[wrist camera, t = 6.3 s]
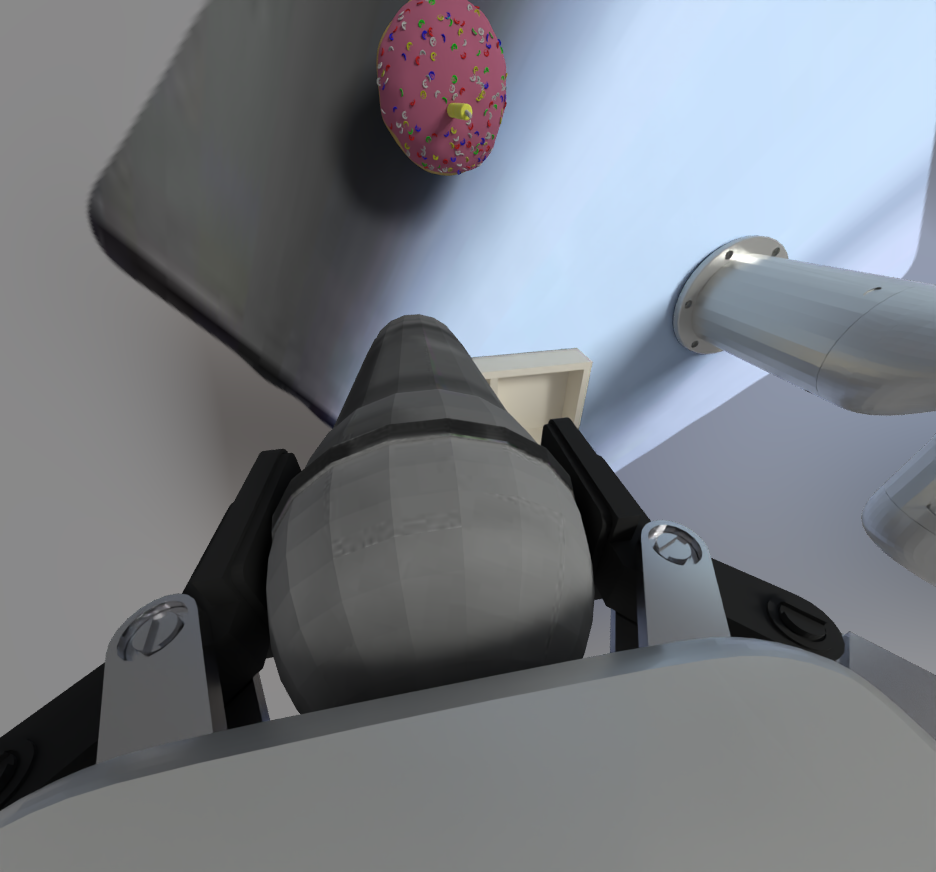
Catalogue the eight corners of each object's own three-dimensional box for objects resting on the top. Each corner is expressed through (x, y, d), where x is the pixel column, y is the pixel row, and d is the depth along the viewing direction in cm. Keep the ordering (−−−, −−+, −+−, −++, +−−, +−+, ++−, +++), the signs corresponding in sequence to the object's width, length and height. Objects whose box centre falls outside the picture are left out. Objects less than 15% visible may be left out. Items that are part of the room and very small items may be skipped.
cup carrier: (576, 347, 40) (592, 361, 36) (563, 426, 46) (575, 444, 43) (389, 365, 37) (388, 381, 34) (403, 446, 44) (404, 466, 40)
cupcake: (501, 159, 28) (554, 143, 19) (404, 192, 28) (408, 193, 19) (475, 2, 23) (531, -132, 14) (358, 44, 23) (330, -58, 14)
